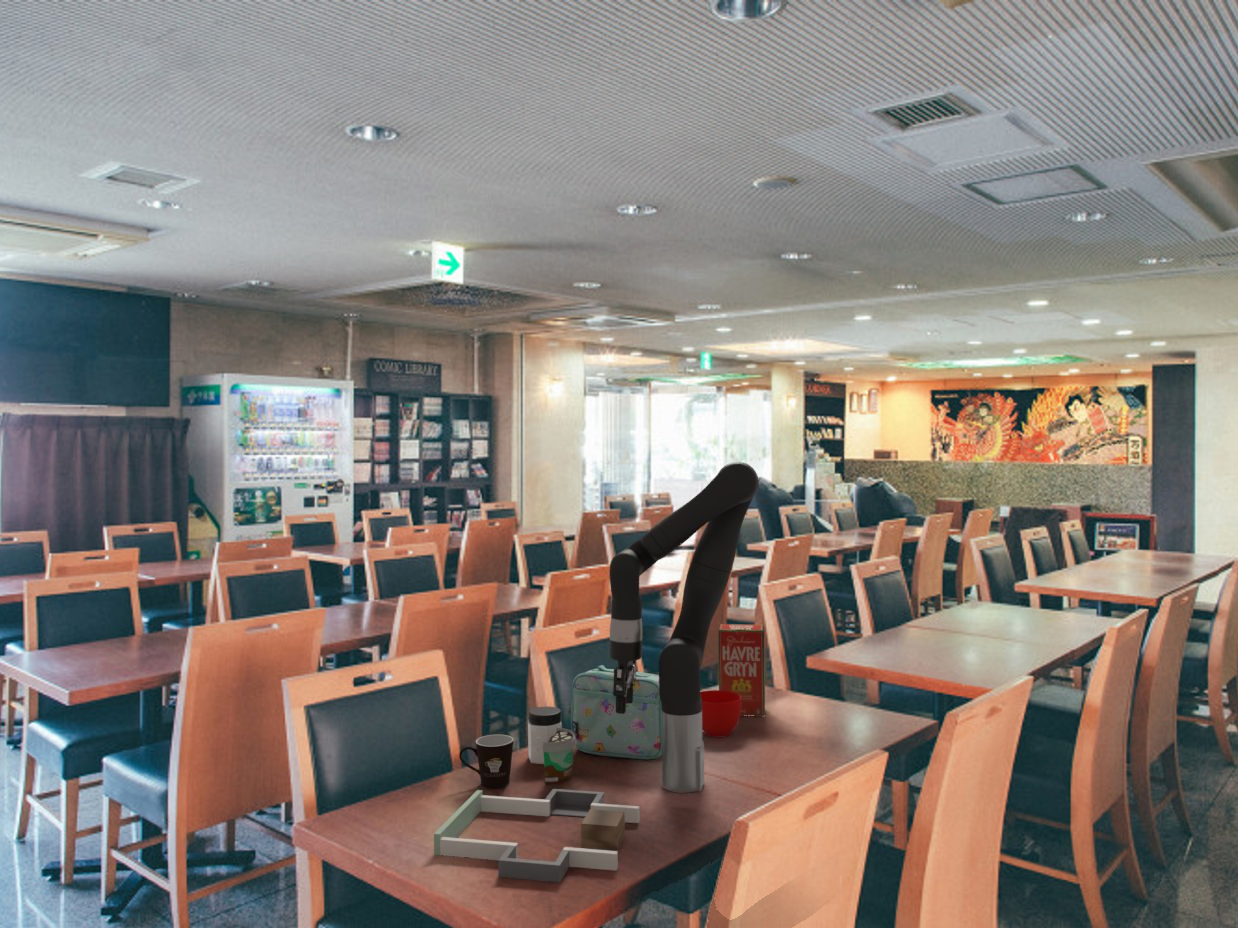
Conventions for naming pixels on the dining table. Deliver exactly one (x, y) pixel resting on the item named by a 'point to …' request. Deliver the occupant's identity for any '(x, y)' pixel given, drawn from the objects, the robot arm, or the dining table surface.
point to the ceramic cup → (720, 712)
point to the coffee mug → (493, 760)
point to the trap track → (508, 852)
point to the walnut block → (603, 830)
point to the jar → (541, 730)
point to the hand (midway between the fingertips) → (624, 707)
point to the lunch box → (616, 716)
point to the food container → (559, 757)
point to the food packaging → (743, 665)
